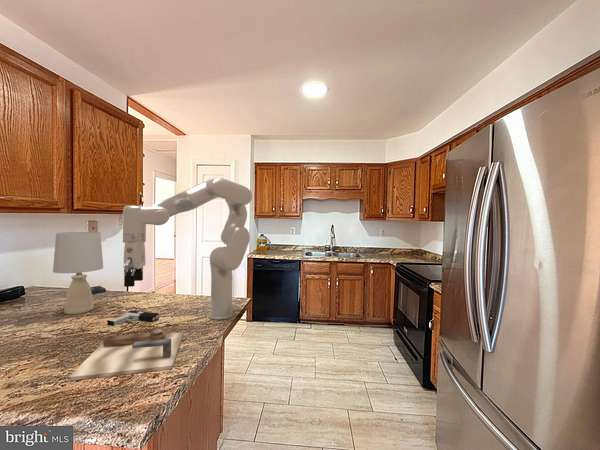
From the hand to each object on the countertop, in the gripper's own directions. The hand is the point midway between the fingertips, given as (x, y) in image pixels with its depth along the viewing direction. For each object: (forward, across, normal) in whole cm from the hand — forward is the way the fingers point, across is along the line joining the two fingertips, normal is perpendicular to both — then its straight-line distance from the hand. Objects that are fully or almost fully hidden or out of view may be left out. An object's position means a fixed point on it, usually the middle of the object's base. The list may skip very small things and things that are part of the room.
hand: (133, 283), depth 106 cm
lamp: (+20, +35, +34) cm, 53 cm away
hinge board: (+20, -16, -6) cm, 26 cm away
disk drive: (+21, +69, +45) cm, 85 cm away
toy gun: (+20, +14, +4) cm, 25 cm away
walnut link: (+18, -10, -4) cm, 21 cm away
